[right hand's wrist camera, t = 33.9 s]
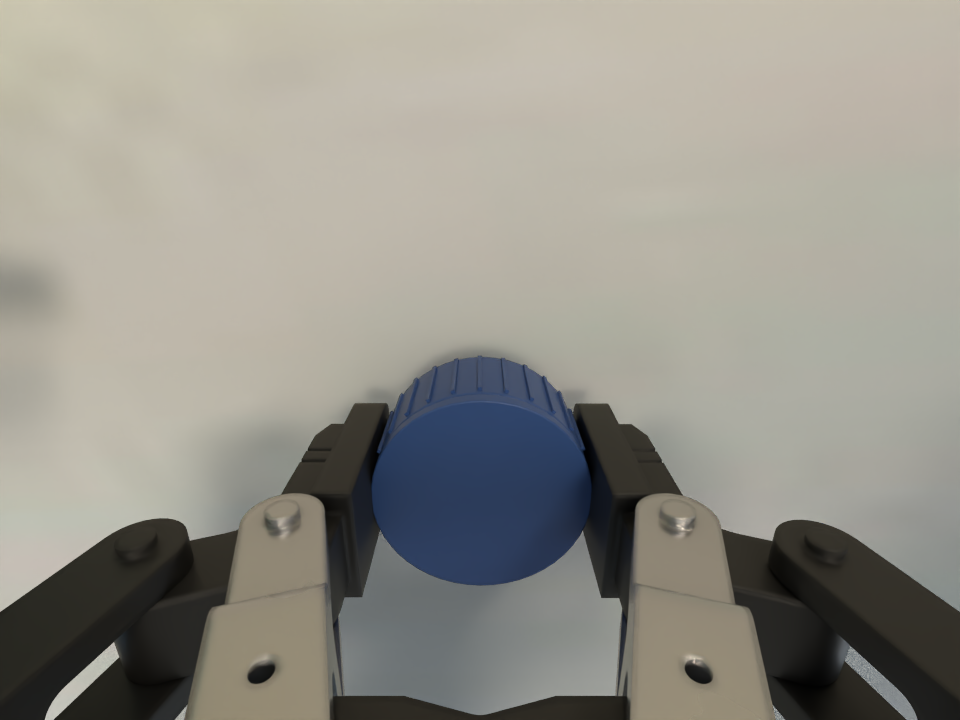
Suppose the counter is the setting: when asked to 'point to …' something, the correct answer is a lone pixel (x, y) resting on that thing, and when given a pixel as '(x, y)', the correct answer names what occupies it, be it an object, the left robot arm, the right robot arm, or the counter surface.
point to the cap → (481, 473)
